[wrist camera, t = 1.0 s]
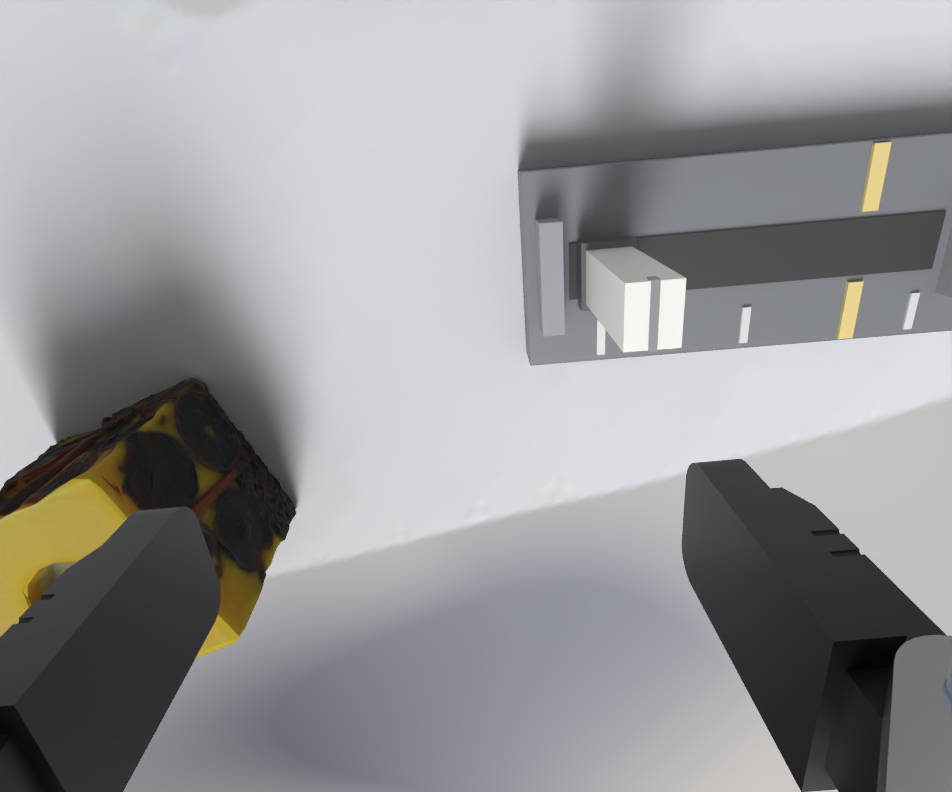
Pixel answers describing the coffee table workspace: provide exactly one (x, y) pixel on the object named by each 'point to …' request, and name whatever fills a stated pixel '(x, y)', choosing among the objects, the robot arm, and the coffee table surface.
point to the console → (751, 243)
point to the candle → (145, 501)
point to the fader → (631, 294)
